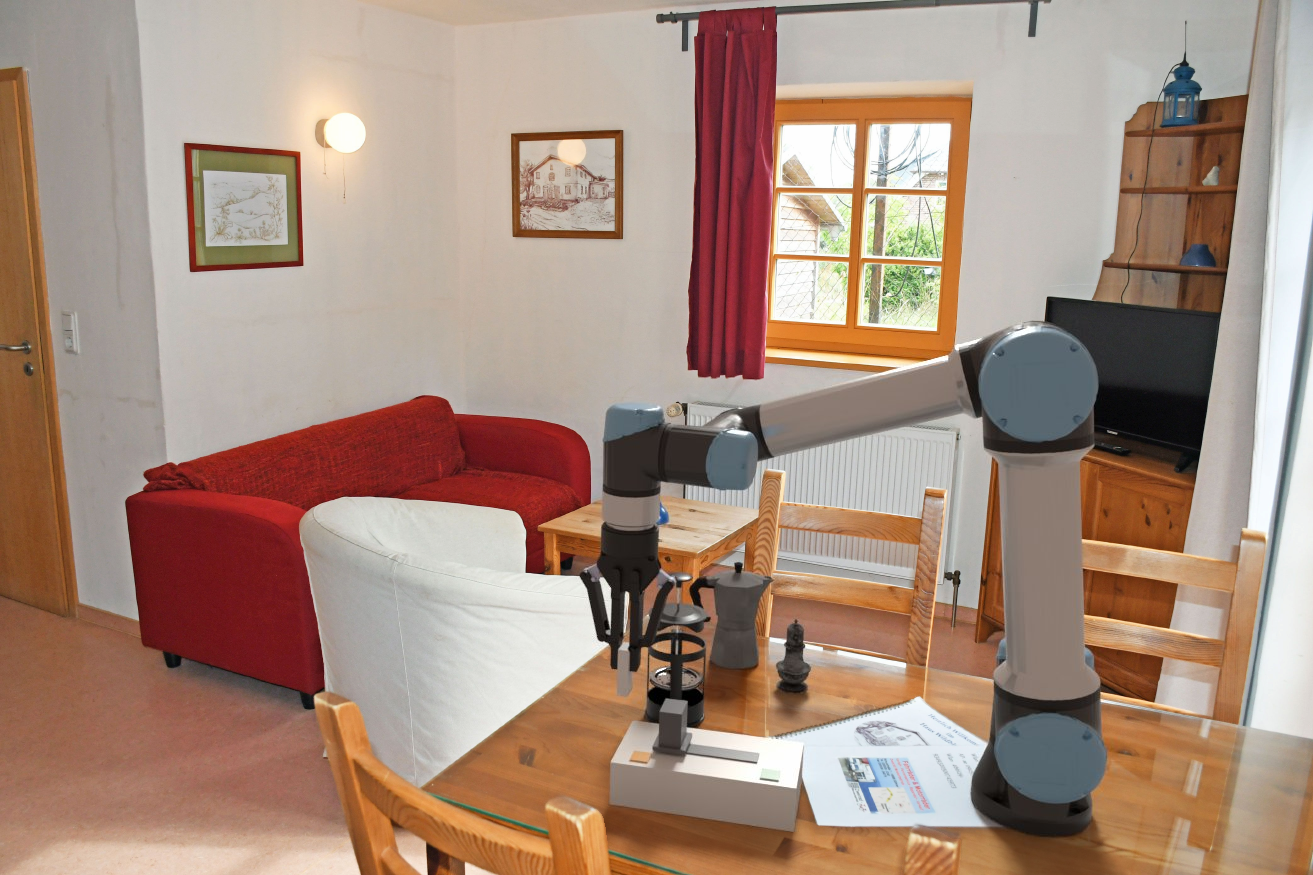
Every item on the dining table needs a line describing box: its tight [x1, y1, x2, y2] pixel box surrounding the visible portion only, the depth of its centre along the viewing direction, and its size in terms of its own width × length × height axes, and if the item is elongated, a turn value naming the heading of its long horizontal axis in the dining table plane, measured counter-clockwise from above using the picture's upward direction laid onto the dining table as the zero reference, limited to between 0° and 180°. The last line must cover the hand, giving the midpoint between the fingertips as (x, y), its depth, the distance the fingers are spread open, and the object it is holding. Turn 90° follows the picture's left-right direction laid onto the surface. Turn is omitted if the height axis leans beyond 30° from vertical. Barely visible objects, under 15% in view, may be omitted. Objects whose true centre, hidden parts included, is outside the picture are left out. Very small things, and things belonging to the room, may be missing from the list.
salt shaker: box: [775, 618, 812, 695], centre depth 166 cm, size 6×6×12 cm
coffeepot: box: [688, 561, 775, 670], centre depth 176 cm, size 15×9×18 cm, turn 104°
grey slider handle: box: [652, 698, 692, 755], centre depth 133 cm, size 4×5×5 cm
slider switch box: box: [609, 720, 805, 833], centre depth 133 cm, size 24×12×6 cm, turn 77°
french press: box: [644, 571, 708, 728], centre depth 154 cm, size 12×9×23 cm
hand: (624, 691), depth 134 cm, fingers closed
